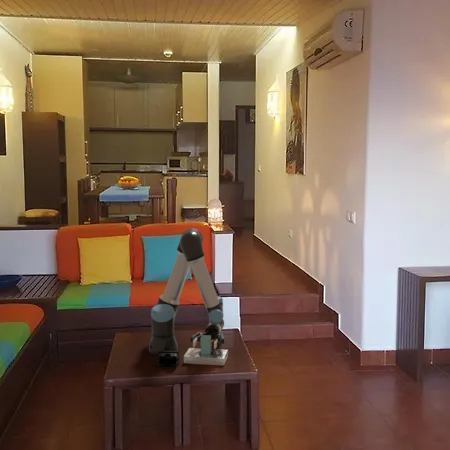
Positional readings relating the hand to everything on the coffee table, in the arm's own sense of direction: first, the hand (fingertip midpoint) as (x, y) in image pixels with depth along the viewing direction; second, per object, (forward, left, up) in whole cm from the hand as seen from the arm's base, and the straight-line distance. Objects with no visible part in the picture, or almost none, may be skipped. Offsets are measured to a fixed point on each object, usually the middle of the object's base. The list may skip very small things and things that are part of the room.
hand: (204, 345), depth 279 cm
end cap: (-16, -8, -9) cm, 20 cm away
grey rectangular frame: (-1, +4, -9) cm, 10 cm away
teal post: (-1, +4, -9) cm, 10 cm away
